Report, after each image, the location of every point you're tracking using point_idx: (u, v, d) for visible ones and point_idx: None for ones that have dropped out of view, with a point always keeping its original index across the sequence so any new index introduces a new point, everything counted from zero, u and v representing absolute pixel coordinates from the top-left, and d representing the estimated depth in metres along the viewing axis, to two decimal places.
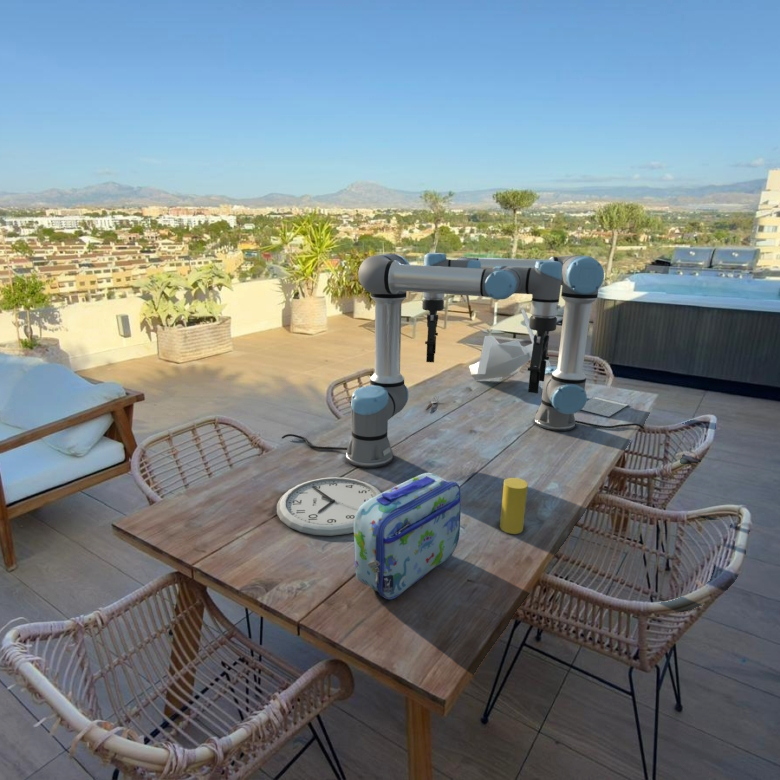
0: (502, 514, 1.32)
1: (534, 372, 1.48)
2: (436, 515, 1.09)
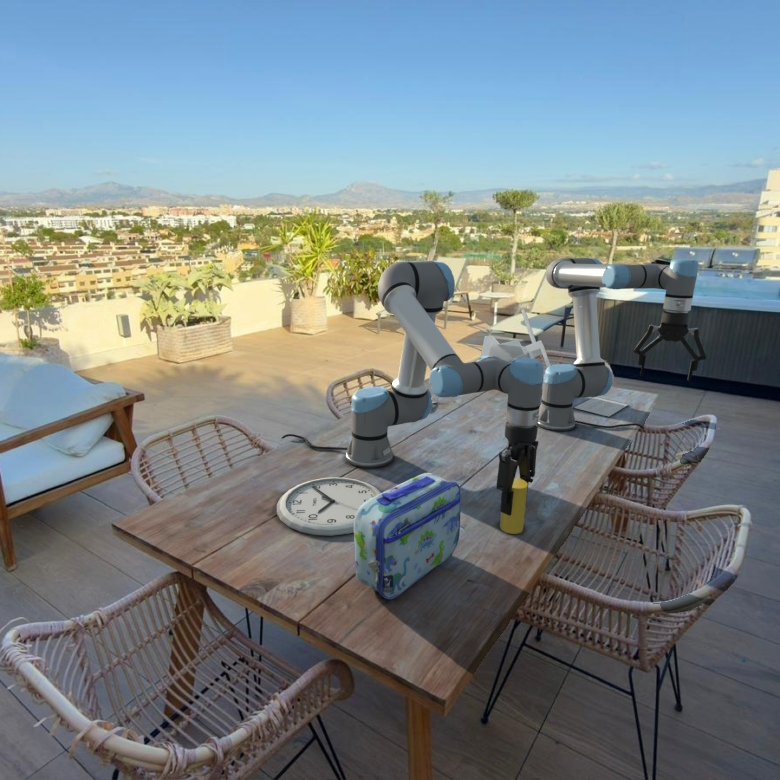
0: (502, 514, 1.32)
1: (504, 492, 1.27)
2: (436, 515, 1.09)
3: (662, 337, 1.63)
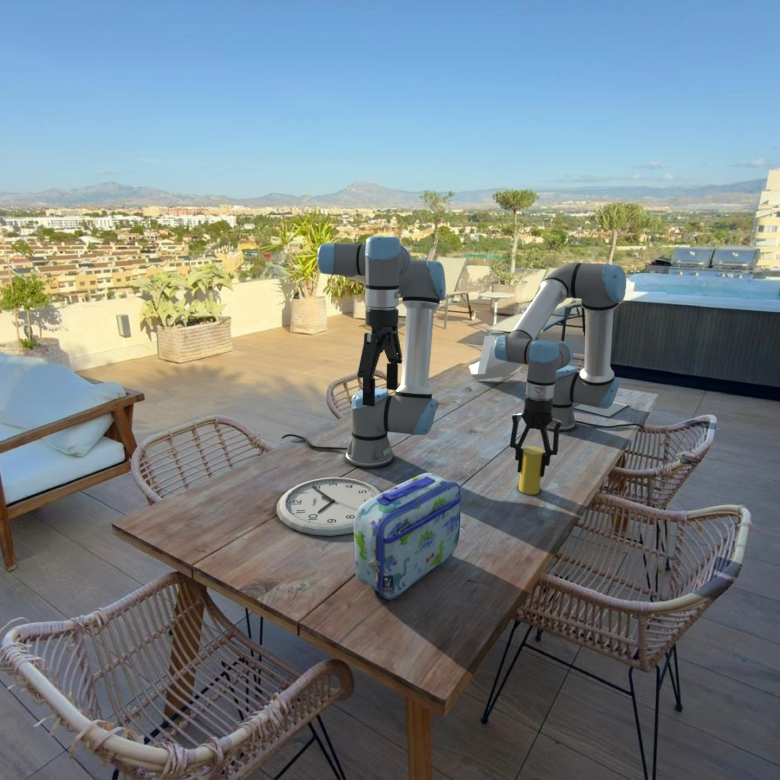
0: (524, 479, 1.50)
1: (365, 380, 1.15)
2: (436, 515, 1.09)
3: (528, 426, 1.46)
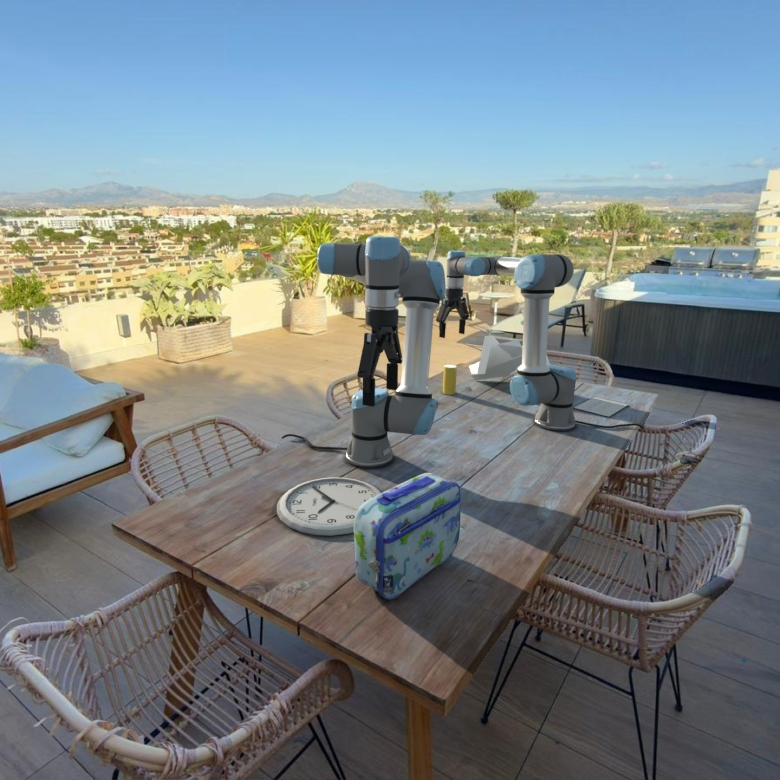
0: None
1: (365, 380, 1.15)
2: (436, 515, 1.09)
3: None
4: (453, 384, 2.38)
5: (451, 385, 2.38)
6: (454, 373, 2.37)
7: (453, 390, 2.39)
